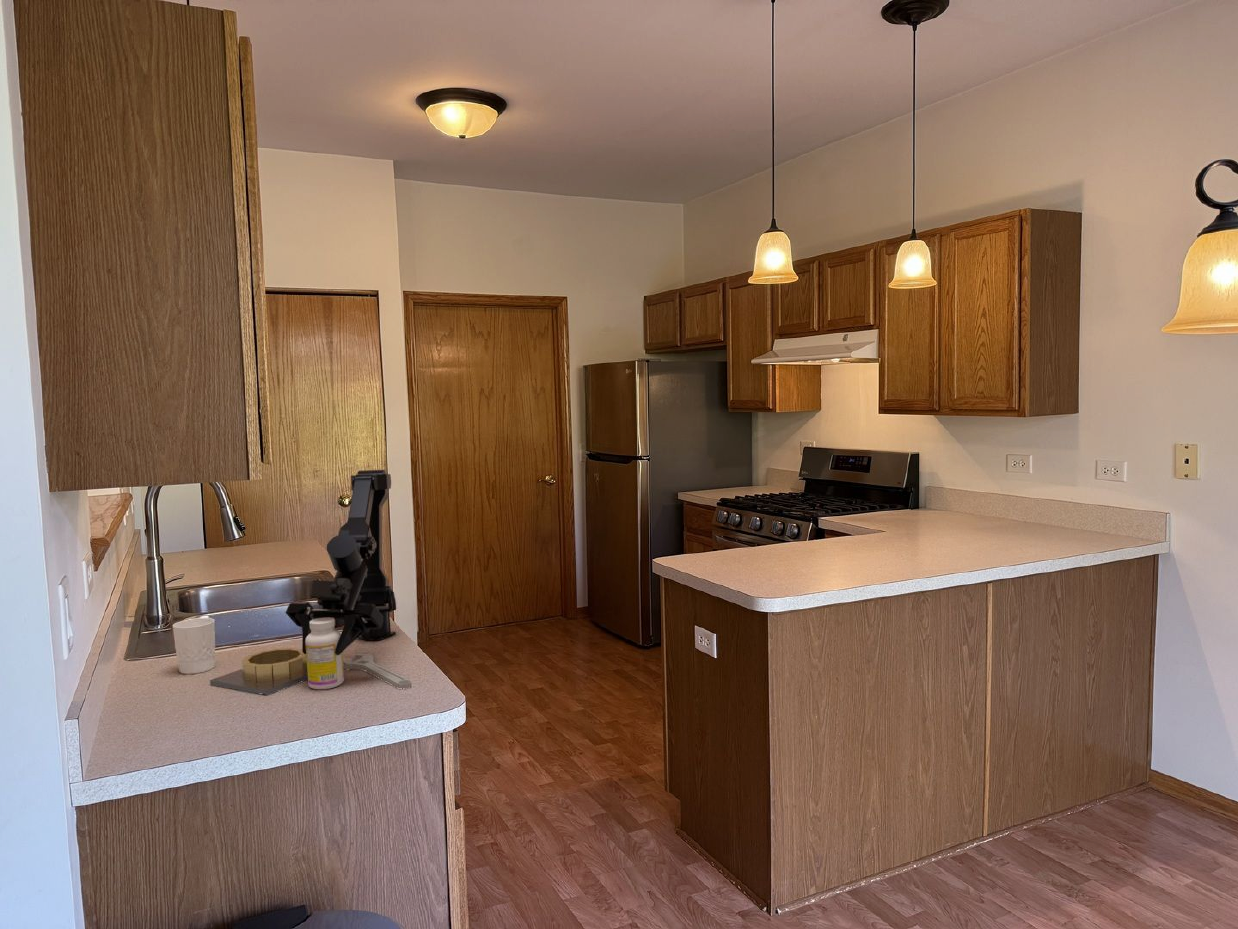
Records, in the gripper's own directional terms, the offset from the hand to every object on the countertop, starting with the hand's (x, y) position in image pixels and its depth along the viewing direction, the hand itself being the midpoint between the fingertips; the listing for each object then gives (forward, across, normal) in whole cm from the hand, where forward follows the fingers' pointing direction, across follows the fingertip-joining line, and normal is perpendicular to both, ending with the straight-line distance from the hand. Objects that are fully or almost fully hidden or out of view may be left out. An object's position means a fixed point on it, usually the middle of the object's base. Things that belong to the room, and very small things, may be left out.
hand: (320, 653), depth 165 cm
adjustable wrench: (-1, +7, +11) cm, 13 cm away
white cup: (0, -34, +10) cm, 35 cm away
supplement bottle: (+4, 0, +6) cm, 7 cm away
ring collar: (+1, -14, +8) cm, 16 cm away
